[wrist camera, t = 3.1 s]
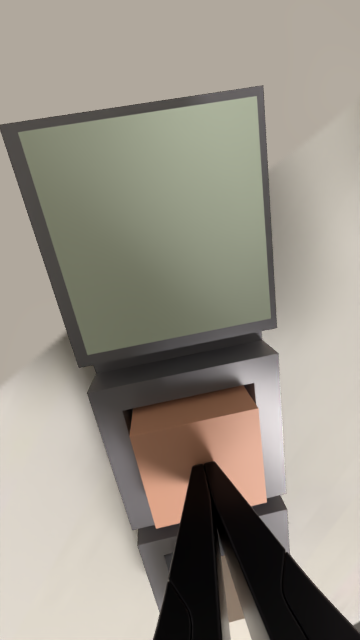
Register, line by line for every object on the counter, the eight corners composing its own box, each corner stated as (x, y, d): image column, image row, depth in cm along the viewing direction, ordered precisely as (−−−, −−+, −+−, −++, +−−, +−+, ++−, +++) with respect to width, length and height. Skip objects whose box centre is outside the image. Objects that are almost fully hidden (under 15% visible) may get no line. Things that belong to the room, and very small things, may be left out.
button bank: (35, 154, 8) (-2, 125, 6) (238, 123, 8) (263, 85, 6) (164, 583, 15) (166, 633, 13) (274, 556, 15) (292, 600, 13)
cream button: (171, 568, 11) (175, 636, 9) (265, 545, 11) (289, 607, 9) (187, 624, 12) (193, 694, 10) (271, 602, 12) (293, 667, 10)
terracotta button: (134, 400, 10) (129, 436, 8) (238, 378, 10) (258, 408, 8) (155, 480, 11) (156, 528, 9) (248, 459, 11) (267, 502, 9)
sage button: (60, 168, 6) (17, 132, 4) (226, 142, 6) (257, 96, 4) (104, 328, 7) (87, 355, 6) (241, 301, 8) (270, 318, 6)
